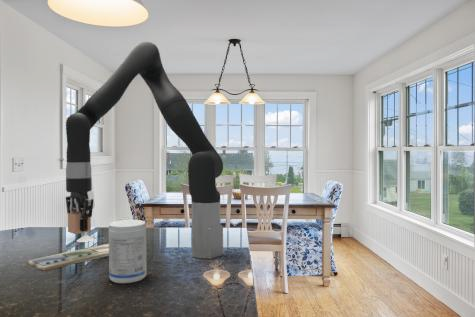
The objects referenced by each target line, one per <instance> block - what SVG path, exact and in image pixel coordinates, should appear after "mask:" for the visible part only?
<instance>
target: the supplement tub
mask: <svg viewBox="0 0 475 317" xmlns="http://www.w3.org/2000/svg"><path fill="white" fill-rule="evenodd" d="M146 225H147V224H146V221H145V220H140V219H124V220H117V221H113V222H110V223H109V224H108V244H109V256H108V273H109V279H110V281H111V282H113V283H116V284H132V283H136V282H139V281H142V280H143V279H145V277H146V276H147V226H146Z"/></svg>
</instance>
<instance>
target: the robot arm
mask: <svg viewBox="0 0 475 317" xmlns="http://www.w3.org/2000/svg"><path fill="white" fill-rule="evenodd" d="M138 75H140V77H141V78H142V79H143V82H145V84H146V85H147V87H148V88H149V89H150V91H151V94H152V96H153V98H154V101H155V103H156V106H157V107H158V110H159V112H160V113H161V116H162V118H163V119H164V121H165V123H166V124H167V126H168V127H169V129H170V130H171V131H172V132H173V133H174V134H175V135H176V136H177V137H178V138H179V139H180V140H181V141H182V142H183V143H184V144H185V146H186V147H187V148H188V150H189V151H190V153H191V156H190V158H189V160H188V165H187V176H188V177H187V180H188V190H189V191H188V192H189V194H190V198H191V255H192V257H193V258H198V259H208V260H209V259H210V260H211V259H214V258H217V257H220V256H223V255H224V227H223V226H224V225H222V224H221V193H220V191H218V189H217V184H216V183H217V181H216V179H218V178H219V177H221V175H222V173H223V170H224V162H223V159H222V157H221V155H220V154H219V153H218V151H217V150H216V149H215V147H214V146H213V145H212V143H211V141H210V140H209V139H208V138H207V136H206V134H205V132H204V131H203V129H202V127H201V125H200V123H199V122H198V120H197V118H196V116H195V114H194V113H193V110H192V108H191V107H190V105H189V103H188V102H187V100H186V98H185V97H184V95H183V93H181V92H180V90H178V88H176V86H175V85H173V83H172V82H171V81H170V78H169V77H168V75H167V73H166V70H165V68H164V67H163V63H162V60H161V53H160V50H159V48H158V47H157V44H155V43H154V42H151V41H147V40H145V41H141V42H138V43H136V44H135V45H134V47H133V48H132V49H131V50H130V52H129V53H128V54H127V56H126V58H124V60H123V61H122V63H121V64H120V65H119V66H118V68H117V69H116V70H115V71H114V73H112V75H111V76H110V77H109V78H108V79H107V80H106V82H104V83H103V84H102V85H101V86H100V87H99V88H98V89H97V90H96V91H95V92H94V93H93V94H92V95H90V97H89V98H88V99H87V100H86V101H85V104H84V105H82V106H81V107H80V108H79V109H78V110H77V111H76V112H75V113H72V114H69V115H68V117H67V119H66V121H65V131H66V132H65V134H66V167H65V191H66V193H70V195H69V196H65V205H66V211H67V214H68V213H74V212H78V213H79V214H80V219H81V220H80V231H87V230H88V218H89V217H91V218H92V215H93V210H92V209H94V208H93V199H89V198H88V194H87V192H88V191H91V190H92V186H93V179H92V164H91V163H92V162H91V147H90V146H91V145H90V138H91V129H93V127H94V126H95V125H96V124H97V123H98V122H99V120H100V119H101V118H103V117H104V116H105V115H106V114H108V112H109V111H111V109H113V108H114V107H115V106H116V105H117V104H118V103H119V101H120V99H122V97H123V95H124V94H125V93H126V90H127V89H128V87H129V86H130V84H131V83H132V82H133V80H134V79H135V78H136V77H137V76H138ZM88 211H89V214H88ZM82 212H83V215H82Z"/></svg>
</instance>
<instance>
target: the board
mask: <svg viewBox="0 0 475 317" xmlns="http://www.w3.org/2000/svg"><path fill="white" fill-rule="evenodd" d="M106 257H109V243H104V244H99V245H95V246H91V247H85V248H79V249H76V250H71V251H65V252H61V253H57V254H56V253H55V254H51V255H47V256H40V257H37V258H33V259H31V258H30V259H27V260H26V264H28V265H30V266H33V267H34V268H36V269H38V270H39V269H40V270H42V271H44V272H45V271H49V270H53V269H58V268H62V267H66V266H71V265H75V264H79V263H83V262H87V261H91V260H95V259H101V258H106Z"/></svg>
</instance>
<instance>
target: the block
mask: <svg viewBox="0 0 475 317" xmlns="http://www.w3.org/2000/svg"><path fill="white" fill-rule="evenodd" d="M88 214H89V212H88ZM82 215H83V212H82ZM91 218H92V217H89V218H88V230H87V231H80V220H81V219H80V214H79V213H78V212H74V213H67V233H71V234H74V235H78V234H84V233H85V232H87V233H89V232H90V233H91V230H92V229H91V228H92V226H91V225H92V224H91V223H92V222H91V220H92V219H91Z"/></svg>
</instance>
